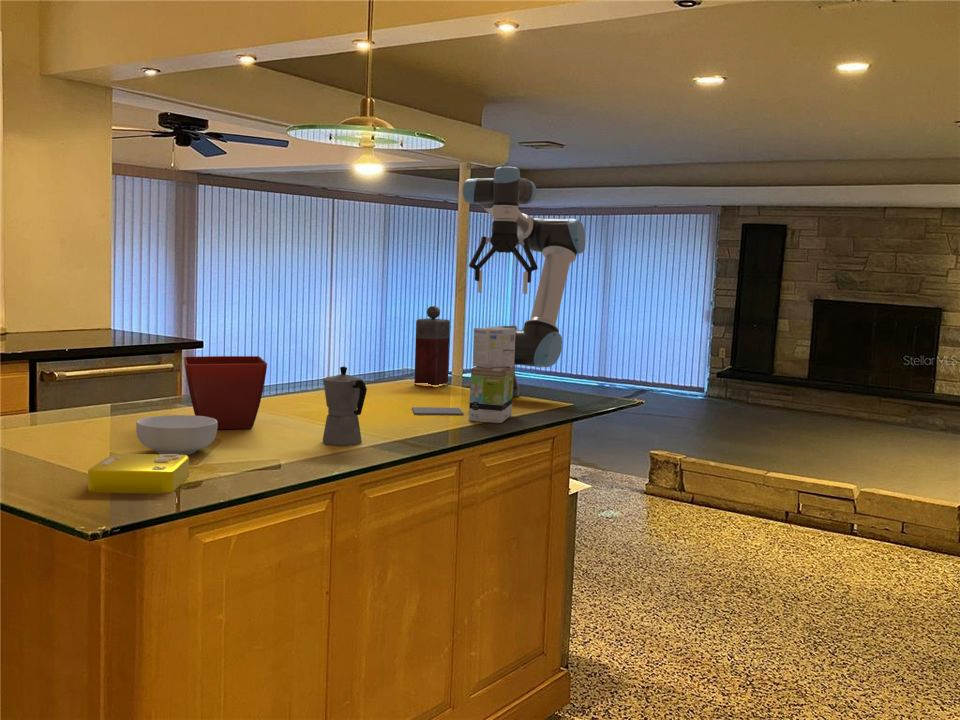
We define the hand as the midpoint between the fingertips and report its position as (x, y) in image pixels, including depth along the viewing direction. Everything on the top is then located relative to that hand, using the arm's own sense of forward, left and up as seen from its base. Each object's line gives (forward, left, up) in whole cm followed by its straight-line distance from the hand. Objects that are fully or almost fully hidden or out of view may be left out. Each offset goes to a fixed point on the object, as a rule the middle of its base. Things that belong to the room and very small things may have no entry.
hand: (502, 293), depth 261 cm
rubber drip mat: (+6, -19, -35) cm, 40 cm away
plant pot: (+29, -76, -35) cm, 89 cm away
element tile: (+88, -84, -35) cm, 127 cm away
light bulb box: (+15, -5, -20) cm, 26 cm away
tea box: (+16, -5, -35) cm, 39 cm away
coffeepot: (+51, -46, -35) cm, 77 cm away
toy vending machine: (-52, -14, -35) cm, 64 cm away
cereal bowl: (+61, -82, -35) cm, 108 cm away
